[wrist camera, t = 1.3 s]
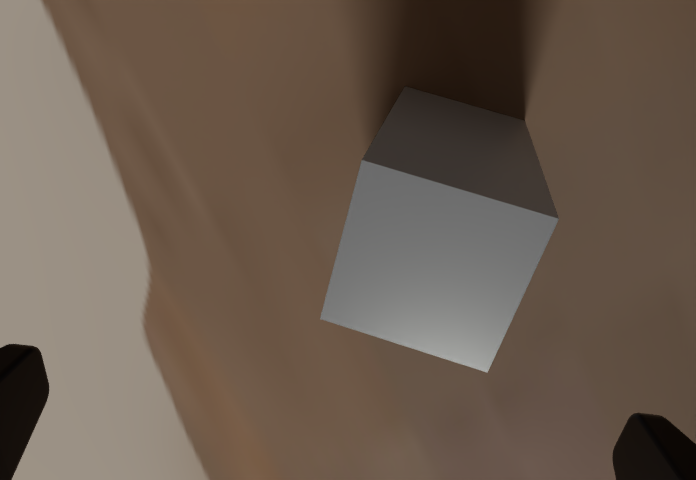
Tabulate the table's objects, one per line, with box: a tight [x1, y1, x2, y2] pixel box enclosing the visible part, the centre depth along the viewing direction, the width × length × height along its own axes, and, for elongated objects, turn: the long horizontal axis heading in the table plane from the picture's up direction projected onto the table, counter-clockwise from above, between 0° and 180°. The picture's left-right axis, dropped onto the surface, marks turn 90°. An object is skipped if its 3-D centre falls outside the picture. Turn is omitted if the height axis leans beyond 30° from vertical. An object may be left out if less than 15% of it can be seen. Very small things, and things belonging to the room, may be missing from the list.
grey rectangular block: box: [320, 86, 559, 372], centre depth 15 cm, size 4×4×8 cm
